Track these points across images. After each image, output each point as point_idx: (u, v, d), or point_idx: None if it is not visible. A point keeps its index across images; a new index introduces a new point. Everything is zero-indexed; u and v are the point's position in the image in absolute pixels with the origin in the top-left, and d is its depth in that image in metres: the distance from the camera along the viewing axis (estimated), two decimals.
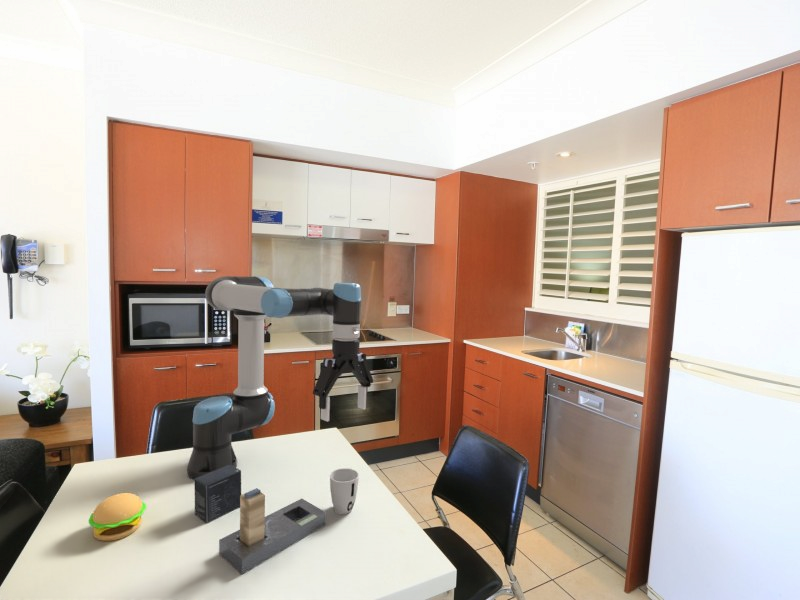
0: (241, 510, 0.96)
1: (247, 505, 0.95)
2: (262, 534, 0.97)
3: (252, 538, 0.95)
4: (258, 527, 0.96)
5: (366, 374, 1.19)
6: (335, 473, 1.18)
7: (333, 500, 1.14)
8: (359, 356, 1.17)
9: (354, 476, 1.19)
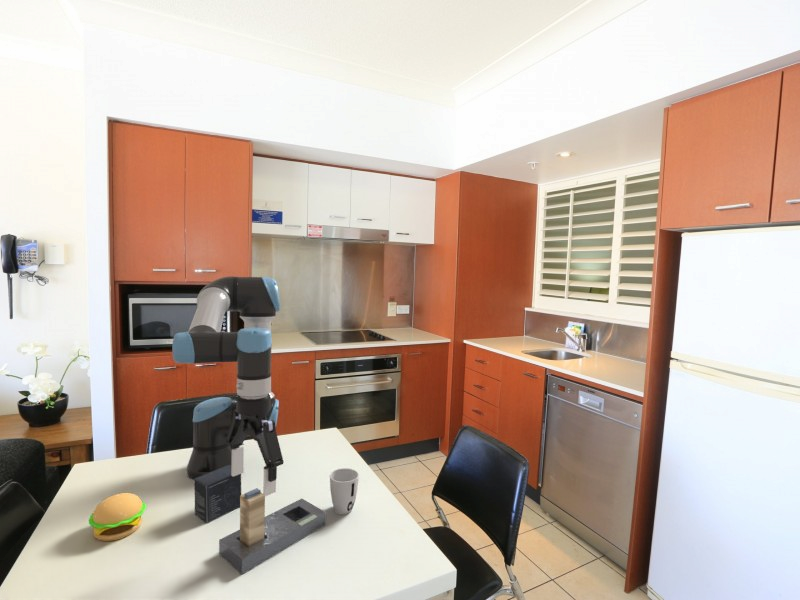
0: (241, 510, 0.96)
1: (247, 505, 0.95)
2: (262, 534, 0.97)
3: (252, 538, 0.95)
4: (258, 527, 0.96)
5: None
6: (335, 473, 1.18)
7: (333, 500, 1.14)
8: None
9: (354, 476, 1.19)
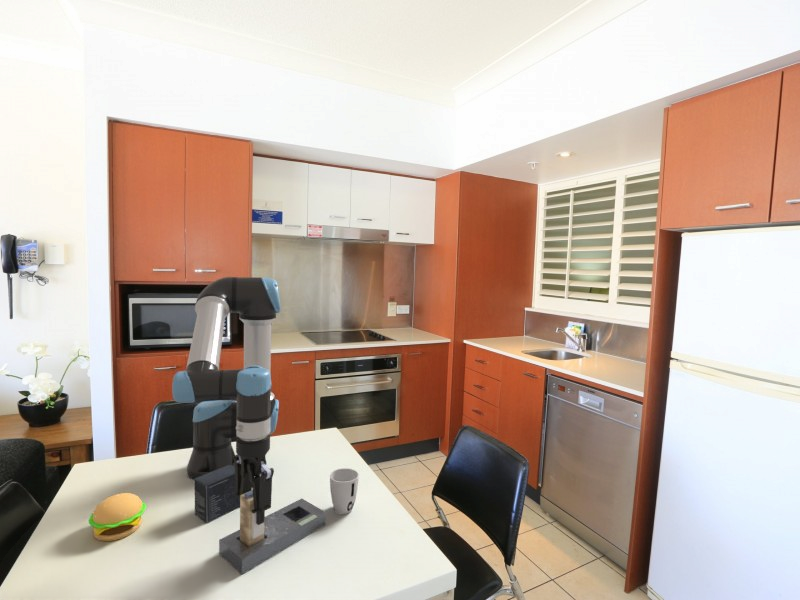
0: (241, 510, 0.96)
1: (247, 505, 0.95)
2: (262, 534, 0.97)
3: (252, 538, 0.95)
4: None
5: None
6: (335, 473, 1.18)
7: (333, 500, 1.14)
8: (263, 469, 0.93)
9: (354, 476, 1.19)
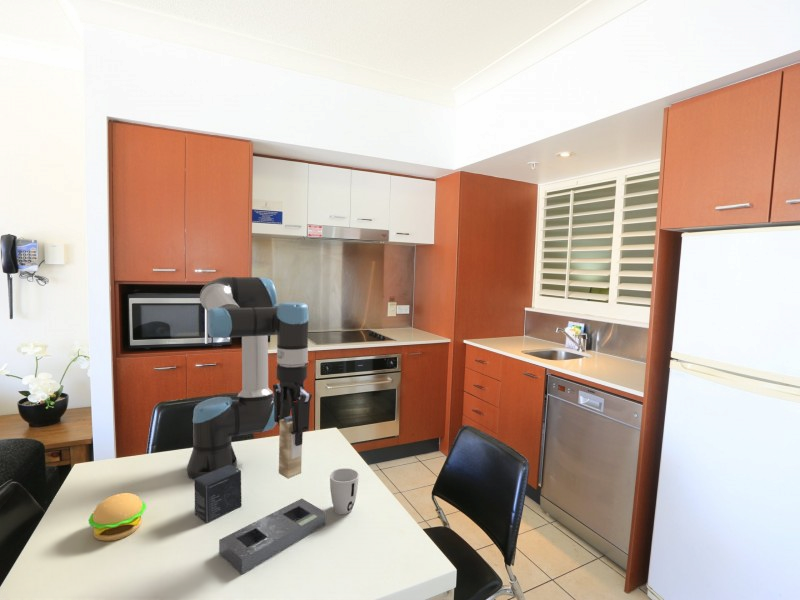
0: (280, 433, 1.04)
1: (286, 428, 1.02)
2: (299, 457, 1.04)
3: None
4: None
5: None
6: (335, 473, 1.18)
7: (333, 500, 1.14)
8: (301, 393, 1.00)
9: (354, 476, 1.19)
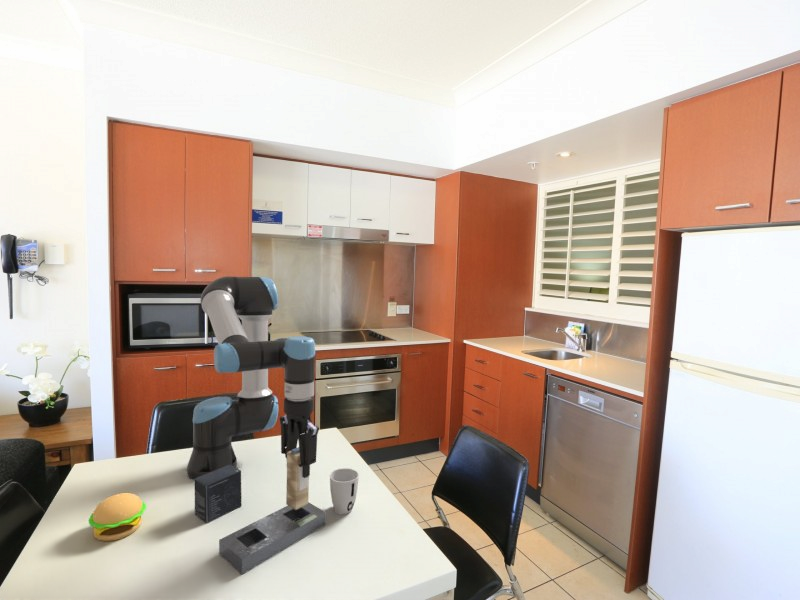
0: (288, 465, 1.06)
1: (294, 460, 1.04)
2: (307, 487, 1.07)
3: (298, 490, 1.05)
4: None
5: None
6: (335, 473, 1.18)
7: (333, 500, 1.14)
8: (309, 426, 1.03)
9: (354, 476, 1.19)
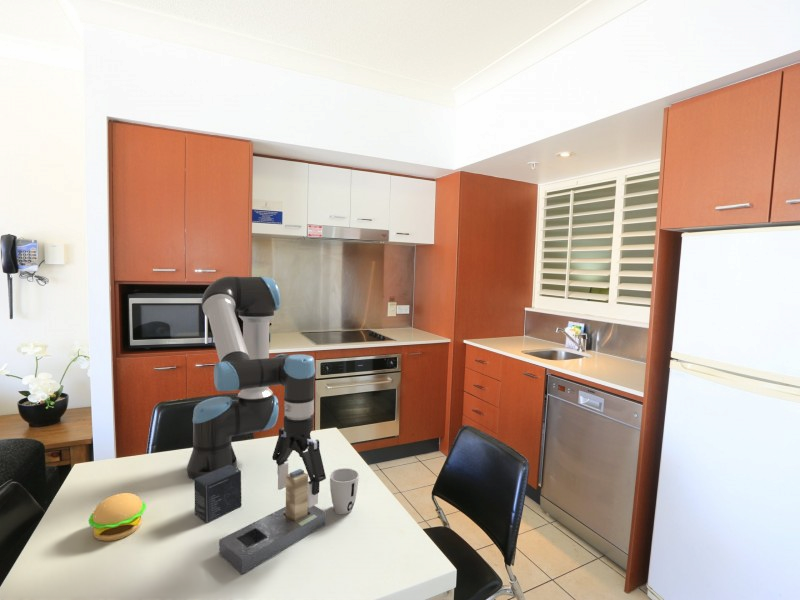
0: (287, 488, 1.06)
1: (293, 483, 1.05)
2: (306, 510, 1.07)
3: (297, 513, 1.05)
4: (302, 504, 1.06)
5: None
6: (335, 473, 1.18)
7: (333, 500, 1.14)
8: (309, 442, 1.03)
9: (354, 476, 1.19)
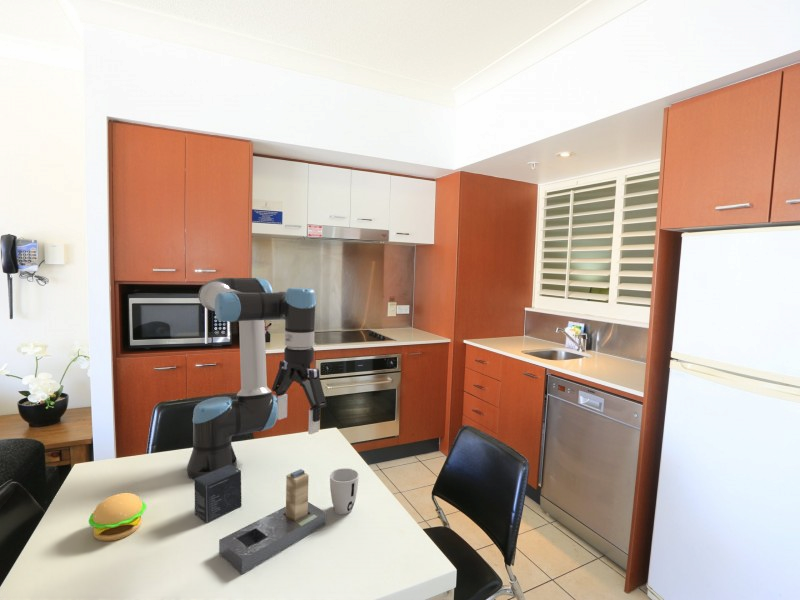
0: (287, 488, 1.06)
1: (293, 484, 1.05)
2: (306, 510, 1.07)
3: (297, 513, 1.05)
4: (302, 504, 1.06)
5: None
6: (335, 473, 1.18)
7: (333, 500, 1.14)
8: (309, 371, 1.04)
9: (354, 476, 1.19)
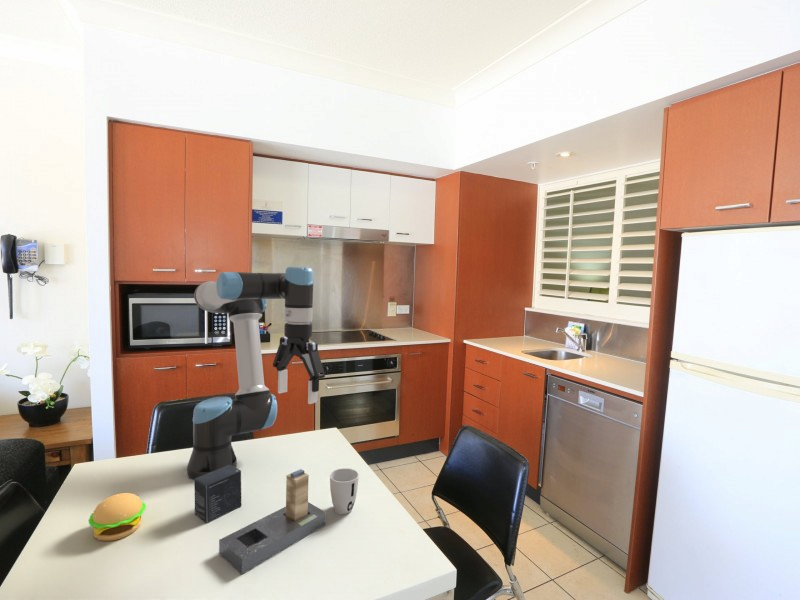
0: (287, 488, 1.06)
1: (293, 484, 1.05)
2: (306, 510, 1.07)
3: (298, 513, 1.05)
4: (302, 504, 1.06)
5: None
6: (335, 473, 1.18)
7: (333, 500, 1.14)
8: (308, 344, 1.11)
9: (354, 476, 1.19)
